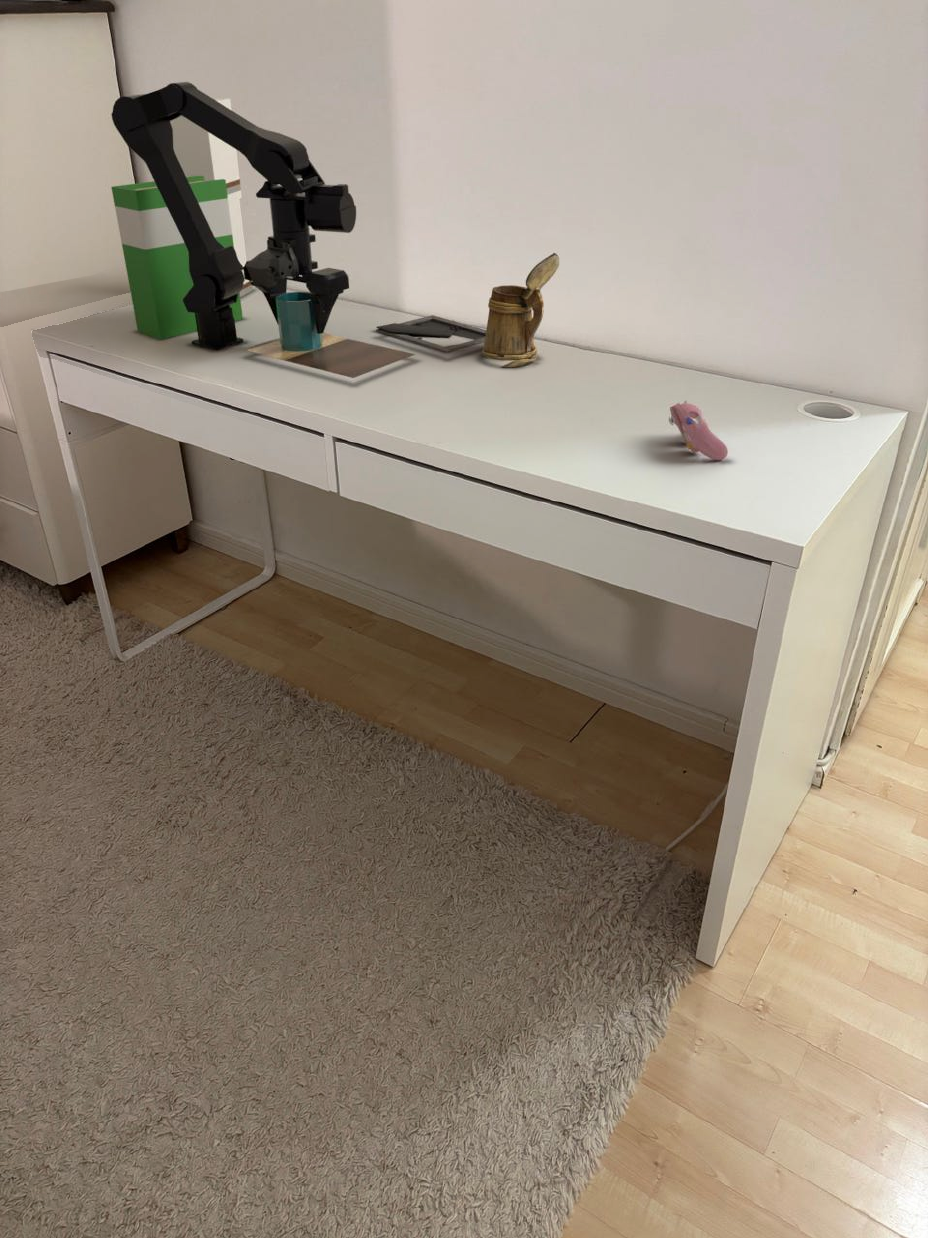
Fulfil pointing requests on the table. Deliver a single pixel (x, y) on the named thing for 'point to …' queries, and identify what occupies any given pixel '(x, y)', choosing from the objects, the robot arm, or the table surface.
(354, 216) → the robot arm
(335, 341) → the serving board
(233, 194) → the tall white box
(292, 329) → the teal cup
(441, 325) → the picture frame
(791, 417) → the table surface
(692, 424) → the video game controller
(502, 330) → the wooden mug
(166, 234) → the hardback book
